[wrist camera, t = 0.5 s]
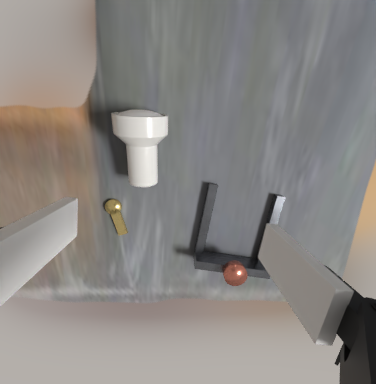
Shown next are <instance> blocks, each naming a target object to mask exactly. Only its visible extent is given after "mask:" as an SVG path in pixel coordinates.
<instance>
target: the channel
mask: <svg viewBox="0 0 376 384" xmlns="http://www.w3.org/2000/svg"><path fill="white" fill-rule="evenodd" d="M217 188H218V185H217V184H212V183H209V184H208V189H207V194H206V198H205V203H204V208H203V213H202V217H201V222H200V227H199V232H198V237H197V241H196V246H195V251H194V256H193V258H194V266H195V269H201V270H208V271H216V272H223V275H224V278H225V281H226V282H227V283H228V284H229V285H232V286H238V285H241V284H243V283H244V282H245V281H246V279H247V276H252V277H259V278H266V279H270V275H269V274H268V272H267V270H266V269H265V267H264V266H263V264H262V263H261V261H260V260H259V258H258V255H259V251H260V247H261V243H262V239H263V236H264V232H265V229H264V232H263V235H262V239H261V242H260V246H259V249H258V253H257V256H256V258H249V257H242V256H235V255H229V254H222V253H215V252H208V251H204V247H205V242H206V238H207V233H208V229H209V224H210V220H211V215H212V211H213V206H214V202H215V197H216V193H217ZM284 200H285V197H284V196H281V195H275V194H274V198H273V201H272V204H271V208H270V211H269V215H268V218H267V222H266V224H267V223H269V224H277V223H278V220H279V217H280V213H281V210H282V207H283V203H284ZM265 228H266V225H265Z"/></svg>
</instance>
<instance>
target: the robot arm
mask: <svg viewBox="0 0 376 384" xmlns="http://www.w3.org/2000/svg"><path fill="white" fill-rule="evenodd" d="M77 212H78V198H71V197H65V198H63V199H61V200H58V201H56V202H54V203H52V204H50V205H48V206H46V207H44V208H42V209H40V210H38V211H36V212H34V213H32V214H30V215H28V216H26V217H24V218H22V219H20V220H18V221H15V222H13V223H11V224H9V225H7V226H5V227H1V228H0V306H1V305H2V304H3V303H4V302H5V301H6V300H8V299H9V298H10V297H11V296H12V295H13V294H14V293H15V292H16V291H17V290H19V289H20V288H21V287H22V286H23V285H24V284H25V283H26V282H27V281H28V280H29V279H31V278H32V277H33V276H34V275H35V274H36V273H37V272H38V271H39V270H40V269H41V268H43V267H44V266H45V265H46V264H47V263H48V262H49V261H50V260H51V259H52V258H53V257H55V256H56V255H57V254H58V253H59V252H60V251H61V250H62V249H63V248H64V247H65V246H67V245H68V244H69V243H70V242H71V241H72V240H73V239H74V238H75V237H76V236H77ZM258 258H259V260H260V261H261V263H262V264H263V266H264V267H265V269H266V270H267V272H268V274H269V275H270V277H271V278H272V280H273V281H274V283H275V284H276V286H277V287H278V289H279V290H280V292H281V293H282V295H283V296H284V298H285V299H286V301H287V302H288V304H289V305H290V307H291V308H292V310H293V311H294V313H295V314H296V316H297V317H298V319H299V320H300V322H301V323H302V325H303V326H304V328H305V329H306V331H307V332H308V334H309V335H310V337H311V338H312V340H313V342H314V343H315V344H320V345H332V344H333V342H334V339H335V337H336V334H338V336H339V337H340V338H341V339H342V341H343V342H344V343H343V345H342V348H341V350H340V352H339V355H338V357H337V359H336V362H335V364H336V365H338V364H339V363H340V384H376V299H372V298H367V297H366V298H364V297H362V296H361V295H360V294H359V293H358V292H357V291H355V290H354V289H353V288H352V287H351V286H350V285H348V284H347V283H346V282H345V281H343V279H341V278H340V277H339V276H337V274H336V273H334V272H333V271H332V270H331V269H330V268H328V267H327V266H325V265H323V264H322V263H321V262H320V261H318V260H317V259H316V258H315V257H314V256H313V255H312V254H310V253H309V252H308V251H307V250H306V249H305V248H303V247H302V246H301V245H300V244H299V243H298V242H297V241H295V240H294V239H293V238H292V237H291V236H290V235H289V234H287V233H286V232H285V231H284V230H283V229H282V228H280V227H279V226H278V225H277V224H269V223H267V224H266V228H265V232H264V236H263V239H262V243H261V247H260V251H259V255H258Z"/></svg>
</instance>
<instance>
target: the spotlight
mask: <svg viewBox="0 0 376 384" xmlns="http://www.w3.org/2000/svg"><path fill="white" fill-rule="evenodd" d="M111 117H112V126H113V133H114V134H115V135H116V136H117V137H118V138H119V139H121V140H122V141H123V142H124V143H125V144H126V151H127V164H128V176H129V183H130V184H131V185H133V186H136V187H149V186H153V185H155V184H156V183H157V182H158V153H157V144H158V143H159V142H160V141H161V140H162V139H164V138H165V137H166V136H167V135H168V115H166V114H161V113H156V112H153V111H149V110H128V111H124V112H114V113H111Z"/></svg>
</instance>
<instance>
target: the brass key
mask: <svg viewBox="0 0 376 384" xmlns="http://www.w3.org/2000/svg"><path fill="white" fill-rule="evenodd" d="M121 208H122V205H121V203H120V202H119V201H118V200H116V199H110V200H109V201H107V202H106V204H105V209H106V211H107V212H108V213H109V214H111V216H112V219H113V221H114V224H115V227H116V229H117V232H118V235H123V234H127V233H128V231H127V228H126V226H125V223H124V220H123V217H122V215H121V212H120V211H121Z"/></svg>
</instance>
